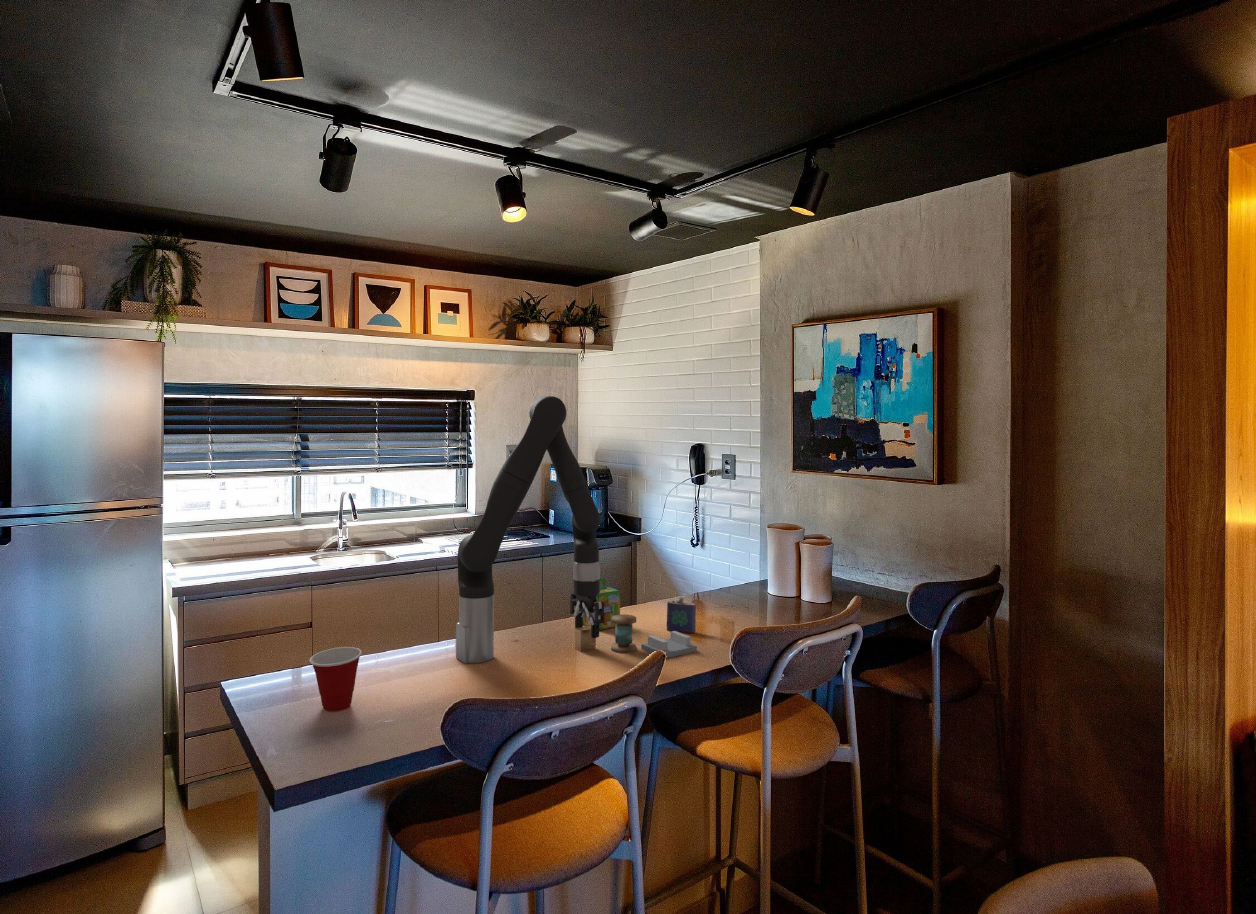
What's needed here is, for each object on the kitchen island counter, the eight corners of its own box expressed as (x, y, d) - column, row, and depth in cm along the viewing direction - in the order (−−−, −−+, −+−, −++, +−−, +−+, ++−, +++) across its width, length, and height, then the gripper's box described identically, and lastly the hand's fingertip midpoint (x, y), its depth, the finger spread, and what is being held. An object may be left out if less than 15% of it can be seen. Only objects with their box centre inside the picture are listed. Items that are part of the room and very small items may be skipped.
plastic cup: (300, 707, 164) (300, 653, 164) (347, 694, 172) (347, 643, 172) (323, 720, 157) (323, 664, 156) (371, 706, 165) (371, 653, 164)
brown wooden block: (580, 651, 207) (580, 630, 206) (575, 649, 209) (575, 628, 209) (595, 649, 210) (595, 628, 209) (589, 646, 212) (590, 625, 212)
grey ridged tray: (663, 658, 201) (663, 644, 201) (641, 649, 210) (641, 635, 209) (696, 651, 208) (697, 637, 208) (674, 642, 217) (674, 629, 216)
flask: (696, 632, 228) (697, 597, 227) (693, 634, 225) (694, 599, 225) (668, 628, 231) (668, 594, 231) (664, 631, 229) (665, 596, 228)
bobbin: (620, 654, 205) (620, 622, 204) (606, 647, 210) (606, 616, 210) (640, 650, 209) (641, 618, 208) (626, 643, 215) (626, 613, 214)
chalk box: (597, 631, 227) (598, 583, 227) (580, 624, 234) (580, 578, 234) (621, 626, 233) (621, 579, 233) (603, 620, 240) (603, 574, 240)
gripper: (562, 574, 212) (562, 630, 213) (588, 583, 201) (589, 642, 201) (584, 571, 217) (584, 626, 217) (611, 579, 205) (612, 637, 206)
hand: (587, 633), depth 209 cm, fingers open, 8 cm apart
